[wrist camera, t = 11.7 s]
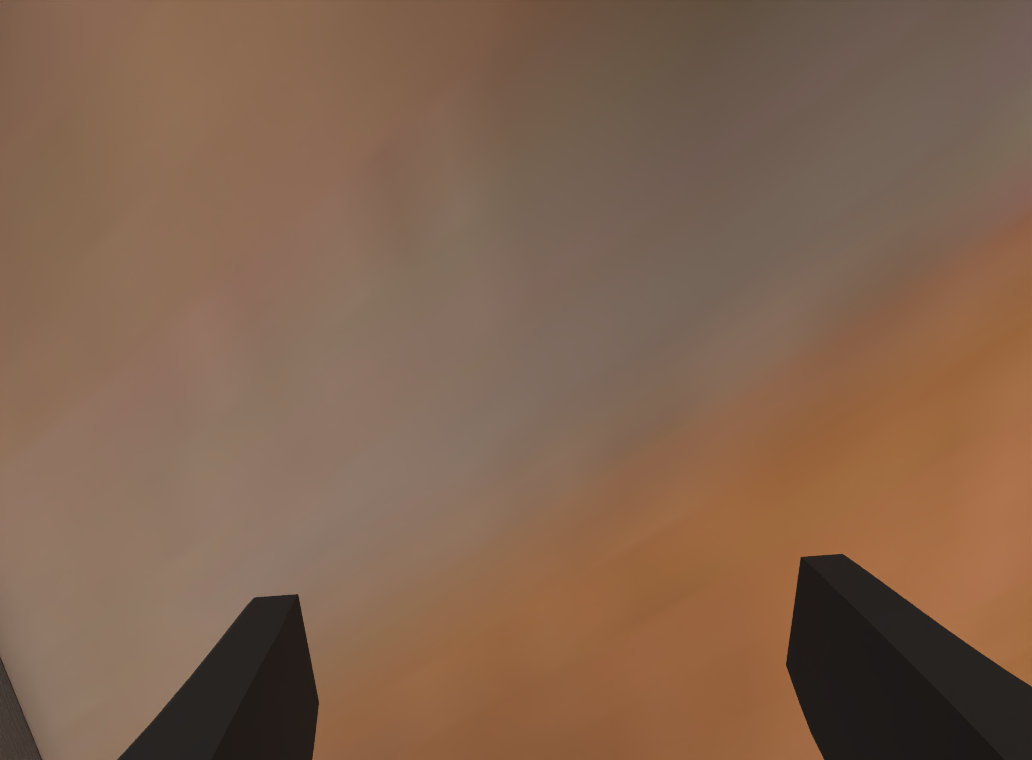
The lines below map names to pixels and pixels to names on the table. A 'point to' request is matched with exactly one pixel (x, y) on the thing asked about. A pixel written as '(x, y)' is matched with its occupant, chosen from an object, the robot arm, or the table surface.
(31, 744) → the clevis block
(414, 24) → the table surface
